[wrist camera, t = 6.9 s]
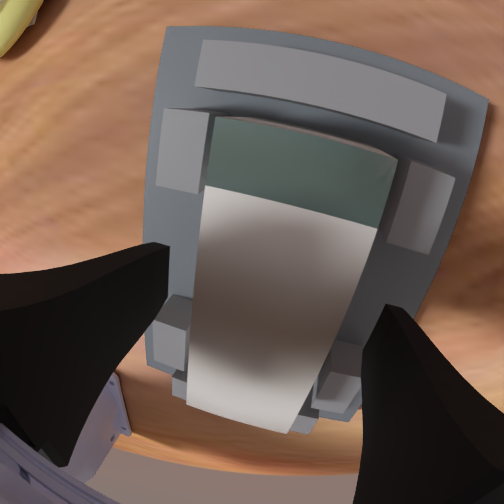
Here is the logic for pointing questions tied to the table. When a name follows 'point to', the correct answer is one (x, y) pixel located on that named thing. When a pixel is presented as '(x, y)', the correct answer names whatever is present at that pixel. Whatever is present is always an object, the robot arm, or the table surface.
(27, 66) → the table surface
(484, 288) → the table surface
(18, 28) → the emoji
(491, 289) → the table surface
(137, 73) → the table surface
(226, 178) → the light grey tapered block
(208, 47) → the cradle
